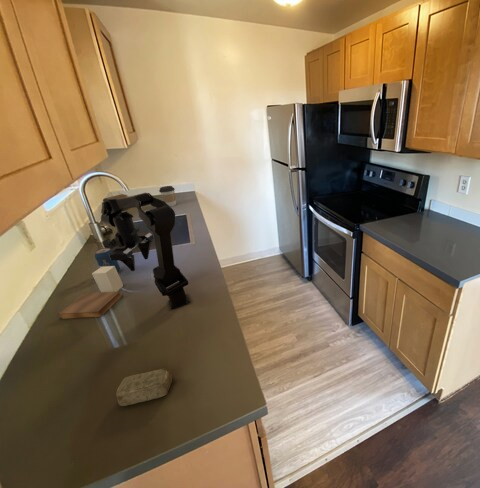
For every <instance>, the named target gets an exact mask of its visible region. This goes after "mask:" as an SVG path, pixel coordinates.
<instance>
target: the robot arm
mask: <svg viewBox="0 0 480 488" xmlns="http://www.w3.org/2000/svg"><path fill="white" fill-rule="evenodd" d="M146 206H152V207H153V208H152V209H149V210H147V211H146V210H145V211H144V210H143V209H142V208H143V207H146ZM132 208H133V209H134V208H136V209H137V210H138V212H137V213H138V218H139V219H140V220H141V221H142V222H143V223H144V224H145V226H146V227H147V228H148V229H149V230H150V231H151V232H152V233H153V234H152V233H151V232H140V229H139V227H138V228H136V225H135V223H134V220H133V218H134V215H133V214H132V213H130V212H129V211H128V210H130V209H132ZM100 213H101V216H100V222H102V223H103V224H104V225H106V226H110V227H112V228H113V227H114V228H115V229H116V231H117V232H116V233H115V235H114V236H113V237H112V238H109V237H108V238H105V239H103V240H102V241H101V242H102V245H103V248H107V249H108V248H110V249H111V250H112V252H111V253H110V254H109V257H110V259H111V260H116V261H117V262H122V263H123V264H124V265H125V266H126V267H127V268H128V269H129V270H130V271H131V272H135V270H136V263H135V261H136V260H135V255H134V254H133V253H134V252H133V249H135V248H136V247H137V248H138V249H139V251H140V253H141V255H142V257H143V259H144V260H148V259H149V255H150V250H151V246H152V243H153V240H154V244H155V251H156V257H157V264H158V266H156V267H154V268H153V269H152V273H153V278H154V285H155V286H156V287H157V289H158V291H159V293H160V294H161V296H162V297H168V303H169V306H170V309H171V310H174V309H177V308H180V307H182V306H184V305H187V304H190V303H191V301H190V299H189V297H188V295H187V293H186V291H185V287H186V286H189V280H188V279H187V278H186V276H185V275H184V274H183V273H182V272H181V269H180V268H179V267H177V266H176V265H175V258H174V250H173V241H172V231H173V229H174V227H175V226H176V212H175V210H174V209H173V208H172V206H169V205H168V204H167V203H166V202H164V200H162V199H159V198H157V197H154V196H153V195H152V194H151V193H150V192H141V193H138V194H135V195H128V194H123V193H121V194H116V195H113V196H108V197H104V198H103V199H102V202H101V211H100ZM116 247H118V248H116ZM113 248H115V249H113Z"/></svg>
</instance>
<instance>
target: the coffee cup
mask: <svg viewBox="0 0 480 488" xmlns="http://www.w3.org/2000/svg"><path fill="white" fill-rule="evenodd" d="M175 189H176V188H175V187H173V185H166V186H161V187H160V188H159V189H158V191H159V193H160V194H161V197H162V199H163V201H164V202H166V203H167V204H168V205H169V206H170V207H174V206H176V205H177V200H176V192H175Z"/></svg>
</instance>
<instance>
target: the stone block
mask: <svg viewBox="0 0 480 488" xmlns="http://www.w3.org/2000/svg"><path fill="white" fill-rule="evenodd" d="M171 373H172V372H171V371H170V370H169V369H168V368H164V367H163V368H159V369H153V370H150V371H146V372H142V373H134V374H131V375H127V376H125V377H124V378H123V379H122V380H121V382H120V384H119V386H118V387H117V390H116V392H115V396H116V400H117V403H118V406H120V407H126V406H130V405H135V404H139V403H143V402H149V401H152V400H156V399H160V398H162V397H164V396H166V395H168V393H169V390H170V387H171V386H172V382H173V375H172V374H171Z"/></svg>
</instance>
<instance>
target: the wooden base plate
mask: <svg viewBox="0 0 480 488" xmlns="http://www.w3.org/2000/svg"><path fill="white" fill-rule="evenodd" d="M121 298H122V295H121V291H120V290H118V291H117V292H102V293H101V292H89V293H87V292H86V293H82V294H81V295H80V296H79V297H77V298H76V299H75V300H74V301H72V302H71V303H70V304H68V305H67V306H66V307H65V308H63V309H62V310H61V311H60V312H58V315H59V317H60V318H61V319H62V320H66V319H80V318H81V319H83V318H98V317H102V316H103V315H104V314H105V313H107V311H108V310H109V309H110V308H112V307H113V306H114V305H115V304H116V302H118V301H119V300H120V299H121Z"/></svg>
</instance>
